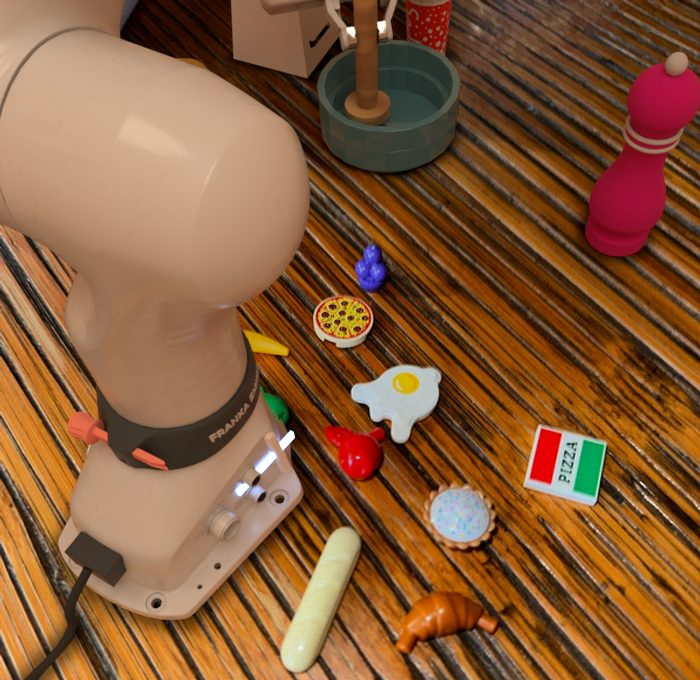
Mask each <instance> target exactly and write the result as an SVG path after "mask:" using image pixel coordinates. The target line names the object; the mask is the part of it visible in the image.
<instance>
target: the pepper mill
mask: <svg viewBox="0 0 700 680" xmlns="http://www.w3.org/2000/svg"><path fill="white" fill-rule="evenodd" d="M688 66H689V58H688V56H687V55H686V53H685V52H682V51H675V52H673V53H671V54H669V56H667V58H666V60H665V62H661V63H656V64H654V65H652V66H650V67H648V68H646V69H644V70H643V71H642V72H641V73H640V74H639V75H638V76H637V77H636V78H635V79H634V81H633V83H632V85H631V87H630V89H629V91H628V94H627V99H626V109H627V114H628V115H627V117H626V119H625V124H624V126H623V128H622V136H623V139H624V145H623V147H622V150H621V152H620V153H619V155H618V157H616V159H615V160H614V161H613V162H612V164H610V165H609V166H608V167H607V169H605V171H603V173H602V174H601V175H600V177H599V178H598V179H597V180H596V182H595V184H594V186H593V188H592V190H591V193H590V195H589V198H588V207H589V212H590V213H589V215H588V218H587V221H586V225H585V228H584V235H585V238H586V241H587V242H588V244H589V245H590V246H591V247H592V248H593V249H594V250H596V251H597V252H598V253H601V254H603V255H606V256H610V257H626V256H631V255H634V254H635V253H637V252H639V251H640V250H641V249H642V248H643V247H644V246H645V243H646V241H647V240H648V236H649V234H650V231H651V229H653V227H655V226H656V225H657V223H659V221H660V219H661V218H662V216H663V212H664V209H665V207H666V202H667V185H666V179H665V175H664V167H665V163H666V160H667V156H668V155H669V153H670V151H672V150H674V149H675V148H676V147H677V146H678V144H679V142H680V140H681V137H682V135H683V132H684V131H685V130H684V128H685V127H687V126H688V125H689V124H690V123H691V122H692V121H693V120H694V118H695V117H696V115H697V113H698V111H699V109H700V79H699V77H698V76H697V74H696V73H695V72H694V71H693V70H692V69H690V68H688Z"/></svg>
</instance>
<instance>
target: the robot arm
mask: <svg viewBox="0 0 700 680" xmlns="http://www.w3.org/2000/svg"><path fill="white" fill-rule="evenodd" d="M347 2H353V0H260V3H261V7H262V8H263V9H264V10H265V11H266V12H267V13H268V14H269V15H278V14H283V13H289V12H294V11H300V10H305V9H311V8H316V7H321V6H323V8H324V13H325V18H326V19H327V21H328V22H329V23H330V24H331V26H332V27H333V28H334V29H335V31H336V32H337V33H339V37H338V38H339V41H340V46H341V51H342V52H344V51H345V50H350V49H355V48H356V47H357V45H358V43H357V38H356V36H355V34H356V31H355V26H354V25H353V26H347V25H346V23H345V22H344V21H343V18H342V17H341V18H340V17H339V15H338V12H339V10H340V11H341V4H343V3H347ZM379 2H380V7H382V8H383V7H385V11H384V14H383V18H382V20H379V21H377V33H378V44H382V43H388V42H391V41H392V40H394V34H393V28H392V22H391V20H392V18H393V15H394V13H395V9H396V6H397V3H398V0H379ZM125 3H126V0H0V225H3V226H5V227H7V228H9V229H11V230H13V231H16V232H17V233H20V234H22V235H23V236H26V237H28V238H30V239H31V240H33V241H34V242H36V243H37V244H39V245H41V246H42V247H45V248H46V249H48V250H49V251H51V252H52V253H54V254H55V255H56V256H57V257H59V258H60V259H62V260H63V261H64V262H65V263H67V264H68V265H69V266H70V267H71V268H72V269H73V270H74V271H76V272H77V273H76V275H75V277H74V279H73V281H72V283H71V286H70V288H69V291H68V294H67V298H66V300H65V306H64V314H63V315H64V324H65V329H66V333H67V335H68V338H69V340H70V341H71V343H72V345H73V346H74V348H75V350H76V351H77V353H78V355H79V356H80V358H81V360H82V362H83V364H84V365H85V366H86V368H87V370H88V372H89V373H90V375H91V377H92V378H93V380H94V382H95V394H96V406H97V417H98V418H94V417H93V416H91V415H90V414H89V413H88V412H86V411H83V410H81V411H76V412H74V414H73V415H72V416H71V417H70V419H69V420H68V423H67V427H66V431H67V434H68V435H69V436H71V437H73V438H75V439H79V440H82V441H84V442H85V443H86V445H89V448H88V451H87V455H86V456H85V458H84V462H83V464H82V467H81V469H80V473H79V476H78V478H77V480H76V483H75V486H74V488H73V491H72V494H71V496H70V498H69V514H70V516H69V518H68V520H67V522H66V523H65V526H64V527H63V529H62V531H61V532H60V535H59V537H58V540H57V546H58V549H59V552H60V554H61V556H62V558H63V560H64V562H65V564H66V566H68V568H69V569H70V571H71V572H72V573H73V574H74V576H75V577H76V578H77V579H76V580H75V583H74V585H73V586H72V588H71V590H70V592H69V595H68V597H67V600H66V602H65V606H64V618H65V620H66V623H67V627H66V629H65V631H64V633H63V635H62V636H61V638H60V639H59V641H58V643H57V644H56V645H55V646H54V648H53V649H52V650H51V652H49V654H48V655H47V656H46V657H44V659H43V660H42V661H41V662H40V663H39V664H38V665H37V666H36V667H35V668H34V669H33V670H32V671H31V672H30V673H28V675H27V676H26V677H25V678H24V679H23V680H39V679H40V678H41V677H42V675H44V673H45V672H46V671H47V670H48V669H49V668H50V667H51V666H52V665H53V663H54V662H55V661H56V660H58V658H59V657H60V656H61V655H62V654H63V652H64V651H65V650H66V649H67V648H68V646H69V645H70V644H71V642H72V640H73V639H74V637H75V634H76V632H77V629H78V625H79V621H78V618H77V615H76V607H77V604H78V601H79V599H80V596H81V594H82V593H83V590H84V589H85V586H86V587H88V588H89V589H90V590H91V591H93V592H94V593H96V594H97V595H99V596H101V597H102V598H104V600H105V599H106V600H107V601H108V602H110V603H112V604H114V605H116V606H118V607H120V608H121V609H124V610H126V611H129V612H131V613H133V614H136V615H139V616H141V617H142V616H143V617H146V618H149V619H155V620H164V621H178V620H186V619H189V618H191V617H192V616H193V615H194V614H195V613H197V611H199V609H200V608H201V607H202V606H203V605H204V604H206V602H207V601H208V600H209V599H210V598H211V597H212V596H213V595H214V594H215V592H217V590H218V589H219V588H220V587H221V586H222V585H224V583H225V582H226V581H227V580H228V579H229V578H230V577H231V576H232V574H234V572H235V571H236V570H237V569H238V568H239V567H240V566H241V565H242V564H243V563H244V562H245V561H246V560H247V559H248V558H249V556H250V555H251V554H252V553H253V552H255V550H256V549H257V548H258V547H259V546H260V545H261V544H262V543H263V541H265V540H266V539H267V538H268V536H269V535H271V533H272V532H273V531H274V530H275V529H276V528H277V527H278V526H279V525H280V524H281V522H282V521H283V520H284V519H286V517H287V516H288V515H289V514H290V513H291V512H292V511H293V510H294V509H295V508H296V507H297V506H298V505H299V504H300V502H302V499H303V497H304V488H303V485H302V483H301V481H300V477H299V476H298V474H297V473H296V471H295V469H294V467H293V464H292V449H291V443H292V441H293V440H294V439H295V433H294V431H292V430H289V432H288V430H287V427H286V426H285V423H284V422H283V420H282V418H280V420H279V419H278V418H277V416H276V415H275V413H274V412H273V410H274V409H273V408H272V407H271V406H270V405H269V403H268V401H267V400H266V398H265V396H264V395H263V392H262V390H261V377H260V372H259V365H258V363H257V360H256V358H255V354H254V352H253V348H252V345H251V342H250V339H249V337H248V336H247V334H246V332H245V331H244V330H243V329H242V328H241V322H240V319H239V315H238V310H237V308H238V307H239V306H241V305H243V304H245V303H248V302H249V301H251V300H253V299H255V298H256V297H258V296H259V295H261V294H262V293H264V292H265V291H266V290H268V289H269V288H270V287H271V286H272V285H273V284H274V283H275V282H276V281H277V280H278V279H279V278H280V277H281V276H282V275H283V273H284V272H285V271H286V269H287V268H288V266H289V265H290V263H291V262H292V260H293V259H294V257H295V255H296V254H297V252H298V250H299V248H300V245H301V243H302V240H303V238H304V234H305V231H306V228H307V225H308V220H309V212H310V205H311V204H310V203H311V184H310V177H309V175H310V174H309V169H308V164H307V159H306V156H305V152H304V149H303V147H302V144H301V141H300V138H299V136H298V134H297V132H296V131H295V129H294V127H293V126H292V125H291V124H290V123H289V122H288V121H287V120H286V119H284V118H283V117H281V116H279V115H278V114H277V113H275V112H274V111H273V110H272V109H270V108H268V107H267V106H266V105H264V104H262V103H261V102H259V101H258V100H256V99H255V98H254V97H252V96H251V95H249V94H248V93H246V92H244V91H243V90H242V89H240V88H238V87H237V86H235V85H233V84H232V83H230V82H229V81H227V80H226V79H224V78H222V77H221V76H219V75H217V74H216V73H214V72H213V71H210V70H209V69H208V70H209V71H208V70H206V69H203V68H201V67H198V66H195V65H192V64H189V63H187V62H184V61H181V60H178V58H176V57H172V56H169V55H167V54H165V53H161V52H159V51H156V50H153V49H150V48H147V47H144V46H142V45H140V44H136V43H133V42H131V41H128V40H125V39H122V38H121V23H122V16H123V11H124V7H125ZM270 407H271V408H272V409H273V410H272V409H271V408H270ZM280 421H281V422H280ZM279 499H282V500H283V501H282V502H281V503H278V502H277V501H278V500H279ZM157 602H161V604H160V606H159V607H157V608H155V607H154V606H155V604H156V603H157Z"/></svg>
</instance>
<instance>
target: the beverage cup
mask: <svg viewBox="0 0 700 680" xmlns="http://www.w3.org/2000/svg"><path fill="white" fill-rule="evenodd" d="M452 3H453V0H405V22H406V23H405V24H406V26H405V27H406V41H412V42H415V43H418V44H422V45H425V46H429V47H431V48H433V49H434V50H436V51H438V52H439V53H441V54H443V55H444V56H446V49H447V42H448V34H449V26H450V19H451V11H452Z"/></svg>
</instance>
